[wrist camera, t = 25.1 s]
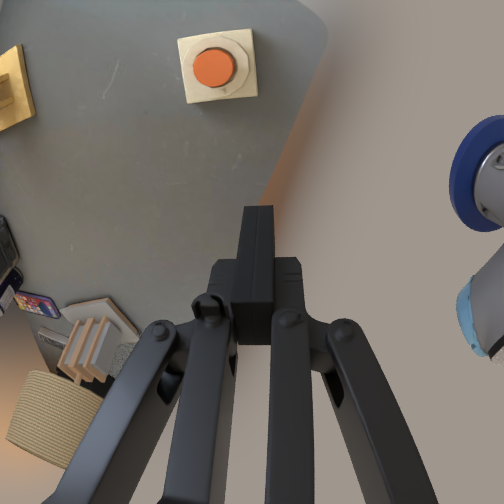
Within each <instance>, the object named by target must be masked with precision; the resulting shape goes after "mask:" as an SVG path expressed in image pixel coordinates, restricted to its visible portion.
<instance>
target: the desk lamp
mask: <svg viewBox="0 0 504 504" xmlns="http://www.w3.org/2000/svg"><path fill="white" fill-rule="evenodd" d="M59 311H60V312H61V313H62V314H63V315H64V317H65V318H66V319H67V320H68V321H69V322H70V323H71V324H72V325H73V326H74V328H73V330H72V332H71V334H70V337H69V339H68V341H67V343H66V346H65V348H64V350H63V353H62V355H61V358H60V360H59V362H58V365H57V367H58V368H60V369H61V370H62V371H63V372H65V373H66V374H67V375H68V376H70V377H71V378H72V379H73V380H75V381H74V382H72V381H70V380H68V379H65V378H63V377H60V376H58V375H55V374H53V373H50V372H46V371H42V370H37V369H36V370H31V371H30V372H29V374H28V376H27V379H26V381H25V384H24V386H23V389H22V391H21V394H20V397H19V399H18V402H17V405H16V408H15V411H14V413H13V416H12V419H11V422H10V426H9V429H8V432H7V435H6V438H5V439H6V440H8V441H9V442H11V443H13V444H15V445H16V446H18V447H20V448H21V449H23V450H25V451H27V452H29V453H31V454H33V455H35V456H37V457H39V458H41V459H43V460H45V461H47V462H49V463H51V464H53V465H56V466H58V467H60V468H63V469H65V470H66V468H67V466H68V464H69V462H70V461H71V459H72V457H73V455H74V453H75V451H76V449H77V447H78V445H79V443H80V442H81V440H82V438H83V436H84V434H85V432H86V430H87V429H88V427H89V425H90V423H91V421H92V420H93V418H94V416H95V414H96V412H97V411H98V409H99V407H100V405H101V404H102V402H103V400H104V399H103V398H101V397H100V396H98V395H96V394H95V393H93V392H92V391H90V390H88V389H86V388H84V387H82V386H80V382H81V379H83V380H85V381H86V382H92V381H93V378H94V377H95V378H97V379H98V380H99V381H100V382H104V383H105V380H106V377H107V375H108V374H109V371H110V368H111V365H112V362H113V359H114V356H115V353H116V350H117V347H118V344H122V343H134V342H138V341H139V339H140V337H139V336H138V335H137V332H138V331H137V330H136V328H135V327H134V326H133V325H132V324H131V323H130V322H129V321H128V320H127V318H126V317H125V316H124V315H123V314H122V313H121V312H120V311H119V309H118V308H117V307H116V306H115V305H114V304H113V302H112V301H111V300H110V299H109V298H103V299H98V300H93V301H88V302H83V303H78V304H73V305H69V306H68V308H63V309H60V310H59Z"/></svg>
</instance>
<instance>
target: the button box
mask: <svg viewBox="0 0 504 504" xmlns="http://www.w3.org/2000/svg"><path fill="white" fill-rule="evenodd" d="M178 47H179V54H180V61H181V68H182V74H183V81H184V87H185V94H186V100H187V104H190V103H197V102H204V101H212V100H221V99H230V98H240V97H253V96H258V85H257V74H256V64H255V53H254V43H253V33H252V29H243V30H233V31H224V32H217V33H210V34H203V35H197V36H191V37H186V38H181V39H178ZM209 50H222V51H225V52H227V53H228V54H229V55H230V56H231V57H232V58H233V60H234V64H235V70H234V73H233V75H232V77H231V78H230V79H229V80H228V81H227V82H226V83H224V84H223V85H220V86H216V87H209V86H205V85H203V84H201V83H200V82H199V81H198V80H197V79H196V77H195V75H194V72H193V66H194V62H195V60H196V59H197V57H198V56H199V55H200V54H202V53H203V52H205V51H209Z"/></svg>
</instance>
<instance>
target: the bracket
mask: <svg viewBox="0 0 504 504" xmlns="http://www.w3.org/2000/svg"><path fill="white" fill-rule="evenodd" d="M35 114H36V112H35V108H34V104H33V100H32V96H31V92H30V87H29V83H28V78H27V73H26V68H25V63H24V57H23V51H22V45H21V44H20V45H16V46H15V47H13V48H12V49H10V50H9V51H7V52H6V53H4V54H3V55H1V56H0V131H2V130H4V129H6V128H8V127H10V126H12V125H14V124H16V123H19V122H21V121H23V120H25V119H27V118H29V117H32V116H33V115H35Z"/></svg>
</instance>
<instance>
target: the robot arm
mask: <svg viewBox="0 0 504 504" xmlns="http://www.w3.org/2000/svg"><path fill="white" fill-rule="evenodd" d="M471 192H472V199H473V202H474V204H475V206H476V208H477V209H478V210H479V211H480V213H481V214H482V215H483V216H484V217H486V218H487V219H489V220H491V221H493V222H495V223H497V224H498V225H500V226H502V227H504V140H503V141H500V142H497V143H495V144H494V145H492V146H491V147H490V148H489V149H488V150H487V151H486V152H485V153H484V154H483V156H482V157H481V159H480V160H479V162H478V164H477V166H476V169H475V172H474V175H473V179H472V187H471ZM191 306H192V309H193V312H194V315H195V318H196V319H194V320H192V321H190V322H187V323H184V324H180V325H176V326H175V325H174V324H173V323H172V322H170V321H168V320H158V321H155V322H153V323H151V324H150V325H149V326H148V327H147V328H146V329H145V331H144V333H143V334H142V336H141V338H140V339H139V341H138V342H137V344H136V346H135V347H134V349H133V351H132V352H131V354H130V356H129V357H128V359H127V361H126V362H125V364H124V366H123V367H122V369H121V371H120V372H119V374H118V376H117V378H116V379H115V381H114V383H113V384H112V386H111V388H110V390H109V391H108V393H107V395H106V397H105V398H104V400H103V402H102V404H101V405H100V407H99V409H98V411H97V412H96V414H95V416H94V418H93V420H92V421H91V423H90V425H89V427H88V429H87V430H86V432H85V434H84V436H83V438H82V440H81V442H80V443H79V445H78V447H77V449H76V451H75V453H74V455H73V457H72V459H71V461H70V462H69V464H68V466H67V468H66V470H65V472H64V474H63V476H62V478H61V480H60V482H59V484H58V486H57V488H56V490H55V492H54V493H53V494H52V495H51V496H49V497H48V498H47V499H46V500H45V501H44V502H42V503H41V504H129V501H130V500H131V498H132V495H133V493H134V491H135V489H136V487H137V485H138V482H139V481H140V478H141V476H142V474H143V472H144V470H145V468H146V466H147V463H148V461H149V459H150V457H151V455H152V453H153V451H154V449H155V447H156V445H157V442H158V440H159V438H160V436H161V434H162V432H163V430H164V428H165V426H166V423H167V421H168V419H169V417H170V415H171V413H172V411H173V408H174V407H175V404H176V402H177V400H178V398H179V396H180V399H179V405H178V409H177V415H176V420H175V426H174V431H173V437H172V442H171V448H170V454H169V460H168V466H167V472H166V479H165V485H164V492H163V496H162V498H161V500H159V502H158V503H157V504H224V501H225V490H226V479H227V468H228V457H229V447H230V436H231V425H232V413H233V404H234V393H235V381H236V372H237V360H238V354H237V341H238V344H239V345H271V363H270V394H269V395H270V396H269V422H268V447H267V467H266V468H267V469H266V488H265V504H314V429H313V401H312V380H311V370H313V371H317V372H320V373H321V376H322V379H323V381H324V384H325V387H326V390H327V392H328V395H329V398H330V401H331V403H332V406H333V409H334V412H335V415H336V418H337V420H338V423H339V426H340V429H341V432H342V435H343V437H344V440H345V443H346V446H347V449H348V452H349V455H350V458H351V461H352V464H353V467H354V470H355V473H356V475H357V478H358V481H359V484H360V487H361V490H362V493H363V496H364V499H365V502H366V504H439V503H438V501H437V498H436V495H435V492H434V490H433V487H432V484H431V482H430V479H429V477H428V474H427V471H426V469H425V466H424V464H423V461H422V459H421V456H420V454H419V452H418V449H417V447H416V445H415V442H414V440H413V437H412V435H411V433H410V430H409V428H408V426H407V423H406V421H405V419H404V417H403V414H402V412H401V410H400V407H399V405H398V403H397V401H396V399H395V396H394V394H393V392H392V390H391V388H390V386H389V384H388V381H387V379H386V377H385V375H384V373H383V371H382V369H381V367H380V365H379V363H378V361H377V359H376V357H375V354H374V352H373V351H372V349H371V346H370V344H369V342H368V340H367V338H366V336H365V334H364V333H363V330H362V329H361V327H360V326H359V325H358V323H356V322H355V321H353V320H350V319H346V318H344V319H337V320H335V321H333V322H332V323H331V324H328V323H324V322H320V321H317V320H315V319H313V318H312V317H311V316H310V315H308V313H307V311H306V309H305V301H304V290H303V279H302V268H301V264H300V262H299V261H298V259H297V258H296V257H276V258H275V237H274V213H273V205H271V206H244V211H243V218H242V225H241V231H240V238H239V245H238V252H237V259H218V260H217V262H216V263H215V264H214V265H213V267H212V270H211V275H210V279H209V284H208V288H207V293H204V294H202V295H199V296H198V297H197V298H196V299H194V301H193V303H192V305H191ZM456 310H457V316H458V320H459V324H460V327H461V329H462V332H463V334H464V336H465V339H466V340H467V342H468V344H469V345H471V347H472V350H473V351H474V352H475V353H476V354H477V355H479V356H481V357H484V356H488V355H489V357H490V359H491V361H492V363H495V364H500V365H503V366H504V244H503V245H502V246H501V247H500V249H499V250H498V251H497V252H496V253H495V254H494V255H493V257H492V258H491V259H490V260H489V261H488V262H487V263H486V264H485V265H484V266H483V267H482V268H481V269H480V270H479V271H478V272H477V273H476V274H475V275H473V276H472V277H471V279H470V281H469V282H468V283H467V284H466V286H465V287H464V288H463V289H462V290H461V291H460V292H459V294H458V297H457V303H456Z"/></svg>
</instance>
